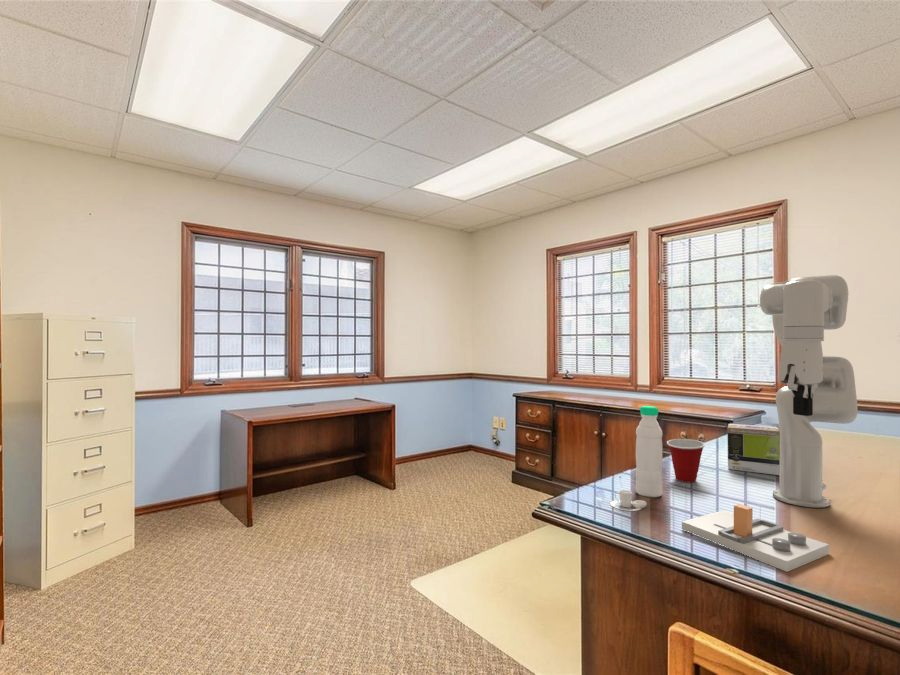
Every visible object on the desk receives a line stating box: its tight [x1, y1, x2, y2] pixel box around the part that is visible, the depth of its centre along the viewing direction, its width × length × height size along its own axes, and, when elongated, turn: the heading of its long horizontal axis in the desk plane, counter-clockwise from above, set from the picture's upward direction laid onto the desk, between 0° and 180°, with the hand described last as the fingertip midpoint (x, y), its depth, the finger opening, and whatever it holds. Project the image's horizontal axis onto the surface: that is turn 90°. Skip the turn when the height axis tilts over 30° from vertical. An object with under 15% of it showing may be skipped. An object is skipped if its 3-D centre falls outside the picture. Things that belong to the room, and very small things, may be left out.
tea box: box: [726, 423, 780, 476], centre depth 161 cm, size 15×10×15 cm
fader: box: [733, 503, 753, 537], centre depth 101 cm, size 2×3×6 cm
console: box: [681, 509, 830, 573], centre depth 103 cm, size 16×22×4 cm
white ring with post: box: [609, 489, 648, 512], centre depth 124 cm, size 9×8×4 cm
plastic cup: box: [666, 438, 705, 483], centre depth 148 cm, size 11×11×12 cm
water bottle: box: [635, 405, 663, 498], centre depth 134 cm, size 7×7×25 cm
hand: (802, 414), depth 107 cm, fingers closed
